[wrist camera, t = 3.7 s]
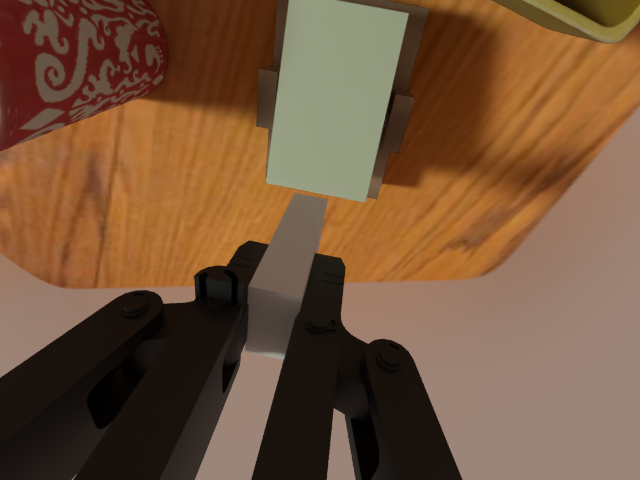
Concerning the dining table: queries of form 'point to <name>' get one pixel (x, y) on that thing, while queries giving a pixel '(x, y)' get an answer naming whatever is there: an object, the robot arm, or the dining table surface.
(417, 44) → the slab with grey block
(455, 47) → the dining table surface
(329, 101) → the rocker green
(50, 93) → the mug
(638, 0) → the flower pot
